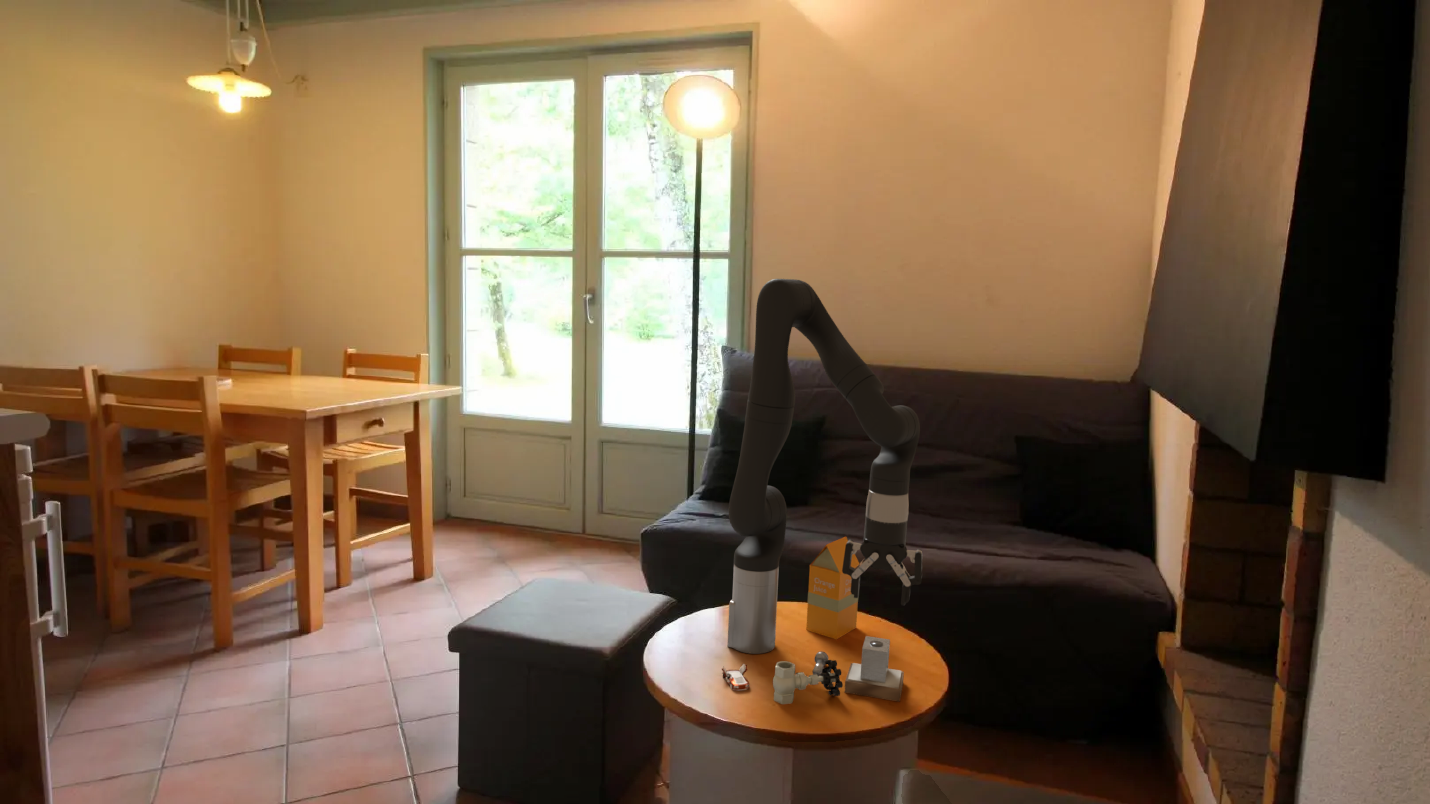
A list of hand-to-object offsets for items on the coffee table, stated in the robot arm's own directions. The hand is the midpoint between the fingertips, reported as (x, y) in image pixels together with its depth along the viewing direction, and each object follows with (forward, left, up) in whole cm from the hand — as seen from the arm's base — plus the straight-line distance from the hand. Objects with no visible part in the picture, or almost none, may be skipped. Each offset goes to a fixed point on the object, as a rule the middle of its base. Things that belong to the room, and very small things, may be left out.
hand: (879, 600), depth 156 cm
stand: (0, 0, -17) cm, 17 cm away
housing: (0, 0, -14) cm, 14 cm away
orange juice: (-12, +25, -17) cm, 32 cm away
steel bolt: (-11, +3, -17) cm, 20 cm away
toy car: (-25, -7, -18) cm, 31 cm away
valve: (-12, -9, -17) cm, 23 cm away
